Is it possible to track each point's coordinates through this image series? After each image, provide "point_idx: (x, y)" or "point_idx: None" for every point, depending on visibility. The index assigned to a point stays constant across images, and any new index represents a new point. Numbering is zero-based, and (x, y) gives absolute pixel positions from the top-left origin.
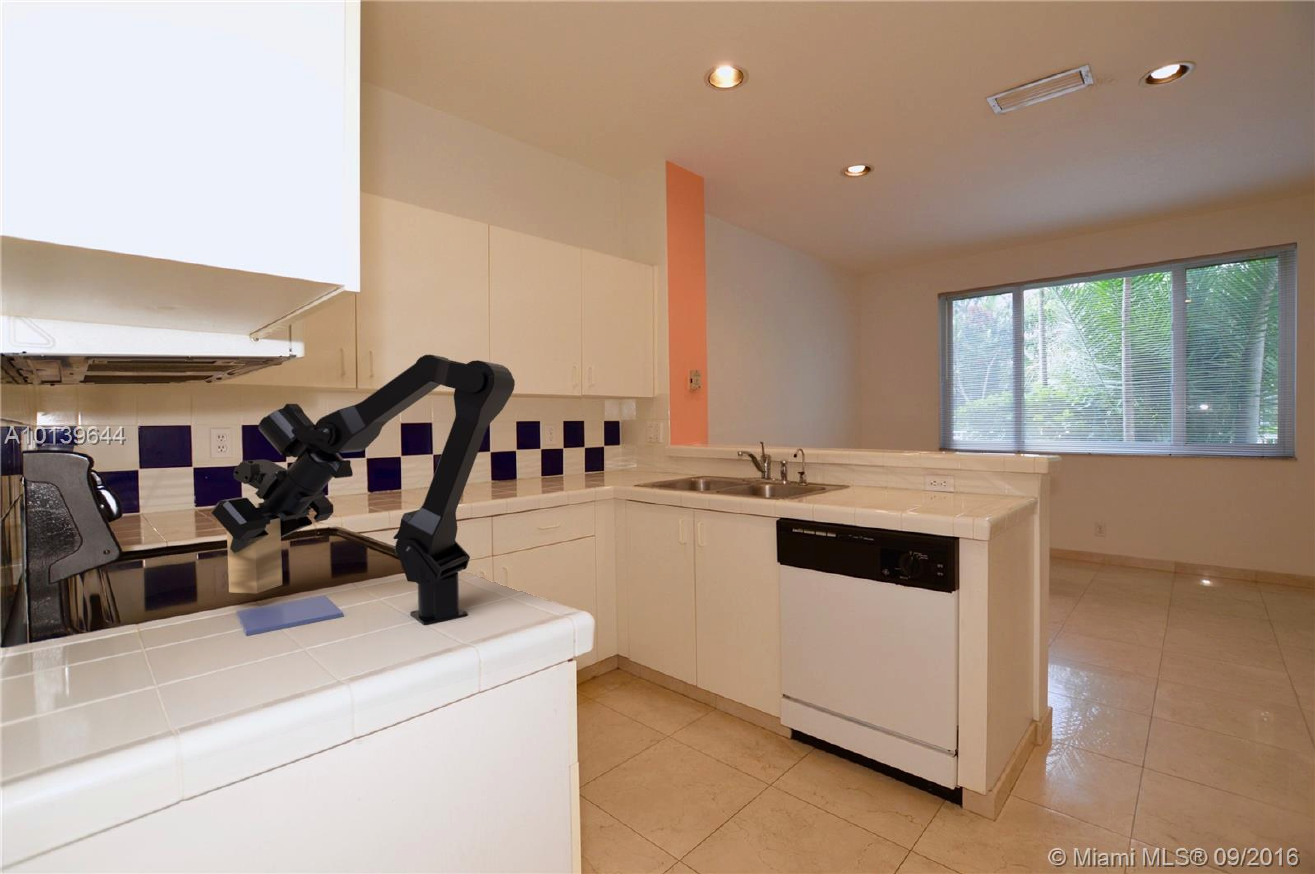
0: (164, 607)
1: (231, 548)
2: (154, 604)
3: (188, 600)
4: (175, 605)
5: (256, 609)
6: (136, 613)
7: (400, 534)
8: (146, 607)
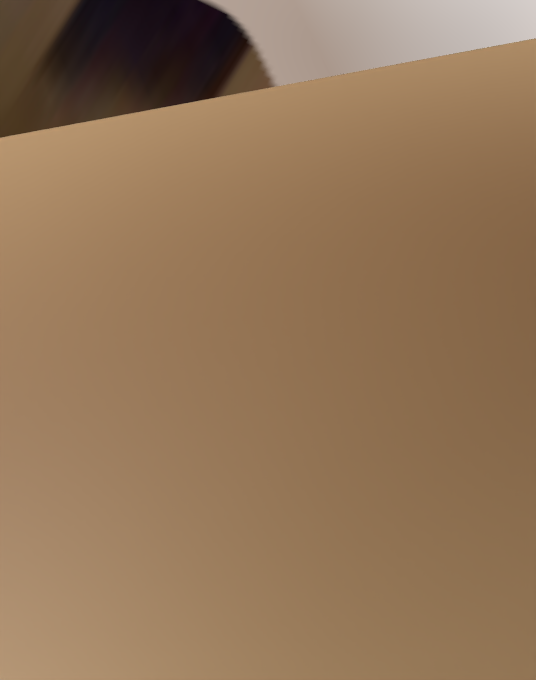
0: (98, 83)
1: None
2: (110, 5)
3: (197, 72)
4: (132, 95)
5: None
6: (5, 65)
7: None
8: (72, 18)
